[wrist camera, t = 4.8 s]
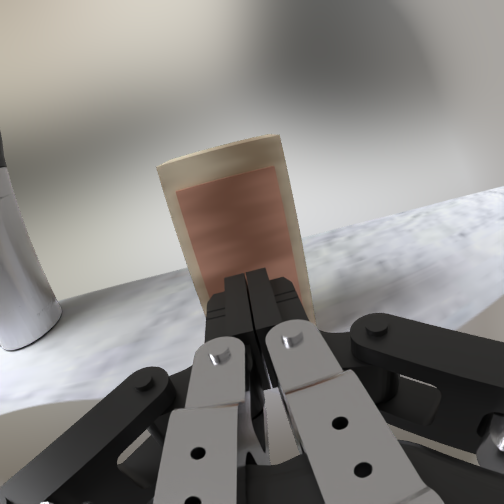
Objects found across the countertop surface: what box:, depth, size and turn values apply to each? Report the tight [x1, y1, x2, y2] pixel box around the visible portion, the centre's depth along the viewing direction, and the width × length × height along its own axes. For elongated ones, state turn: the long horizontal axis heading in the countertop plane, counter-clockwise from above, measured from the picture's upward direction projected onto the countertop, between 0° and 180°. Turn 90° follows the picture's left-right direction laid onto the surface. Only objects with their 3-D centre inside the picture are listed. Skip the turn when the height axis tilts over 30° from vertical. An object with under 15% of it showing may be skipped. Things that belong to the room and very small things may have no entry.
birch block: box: [156, 134, 316, 326], centre depth 18 cm, size 6×4×12 cm
